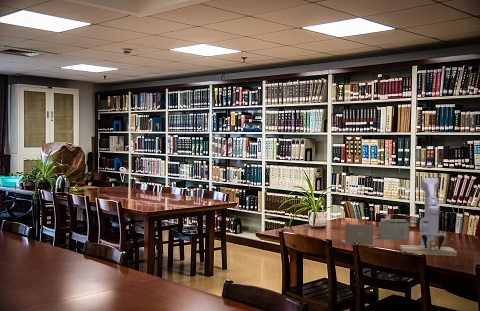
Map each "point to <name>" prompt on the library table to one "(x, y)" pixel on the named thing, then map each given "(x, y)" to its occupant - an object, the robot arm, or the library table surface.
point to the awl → (432, 244)
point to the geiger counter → (393, 229)
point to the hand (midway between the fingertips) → (432, 248)
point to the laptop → (358, 234)
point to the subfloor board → (428, 250)
